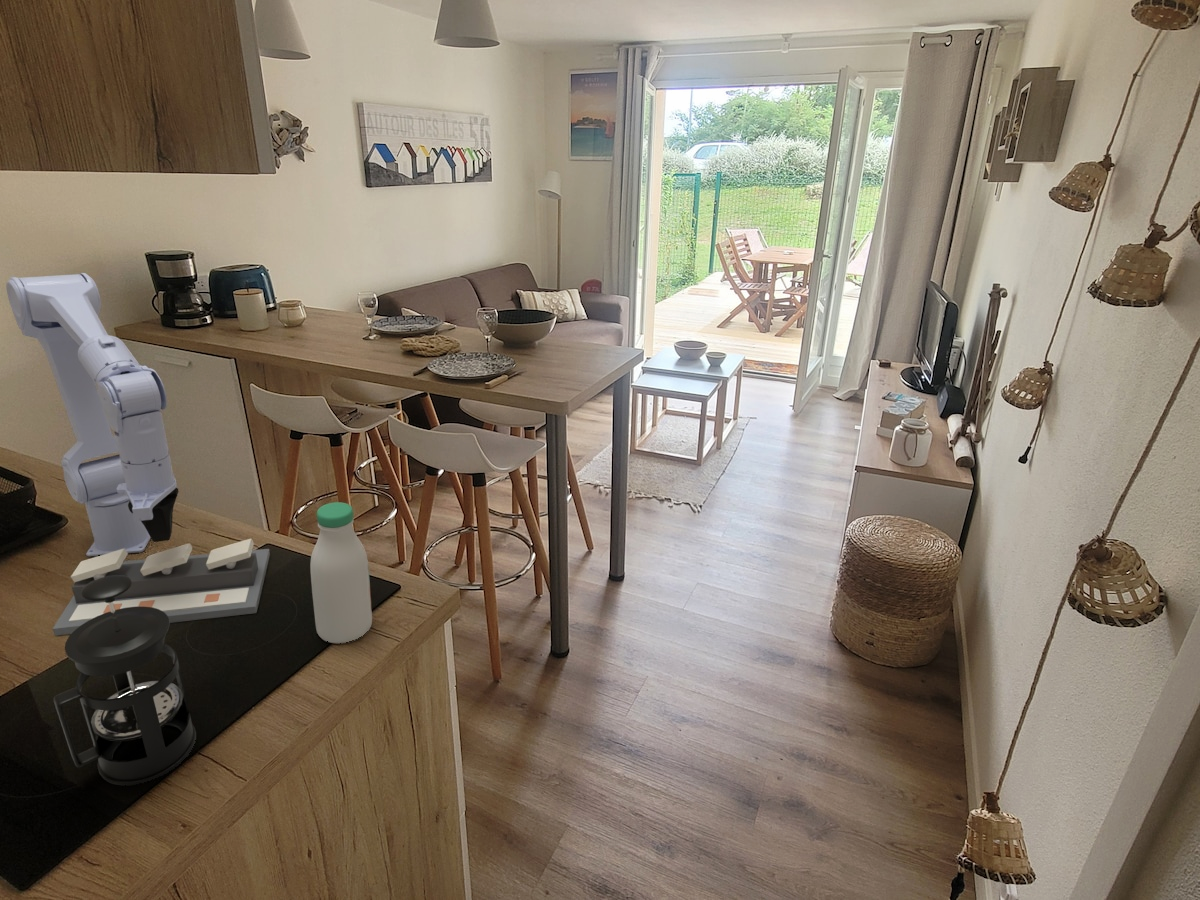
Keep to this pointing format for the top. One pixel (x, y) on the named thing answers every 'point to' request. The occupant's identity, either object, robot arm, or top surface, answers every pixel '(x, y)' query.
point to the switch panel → (177, 591)
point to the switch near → (99, 565)
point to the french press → (127, 688)
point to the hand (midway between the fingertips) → (162, 538)
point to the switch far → (230, 554)
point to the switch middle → (166, 560)
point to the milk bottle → (340, 577)
